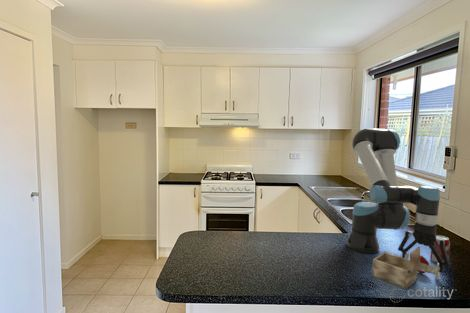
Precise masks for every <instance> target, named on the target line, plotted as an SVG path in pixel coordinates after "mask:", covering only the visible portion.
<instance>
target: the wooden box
mask: <svg viewBox="0 0 470 313" xmlns="http://www.w3.org/2000/svg"><path fill="white" fill-rule="evenodd" d="M371 267H372V268H371V276H372V277H374V278H377V279H379V280H382V281H384V282H387V283H390V284H391V285H394V286H397V287H400V288H402V289H404V288H405V289H404V290H408V289H409V288H410V287H411V286H412V285H413V284H414V283H415V282H416V281H417V280H418V273H419V272H418V270H416V269H414V270H413V271H412V272H411V271H410V259H409V258H408V259H405V258H402V256H398V255H396V254H392V253H389V252H388V251H387V252H386V251H384V252H382V253H380V254H379V255H377V256H376V257H374V258H373V259H372V266H371ZM413 282H414V283H413ZM412 283H413V284H412ZM411 284H412V285H411ZM409 286H410V287H409ZM408 287H409V288H408ZM407 288H408V289H407Z"/></svg>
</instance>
